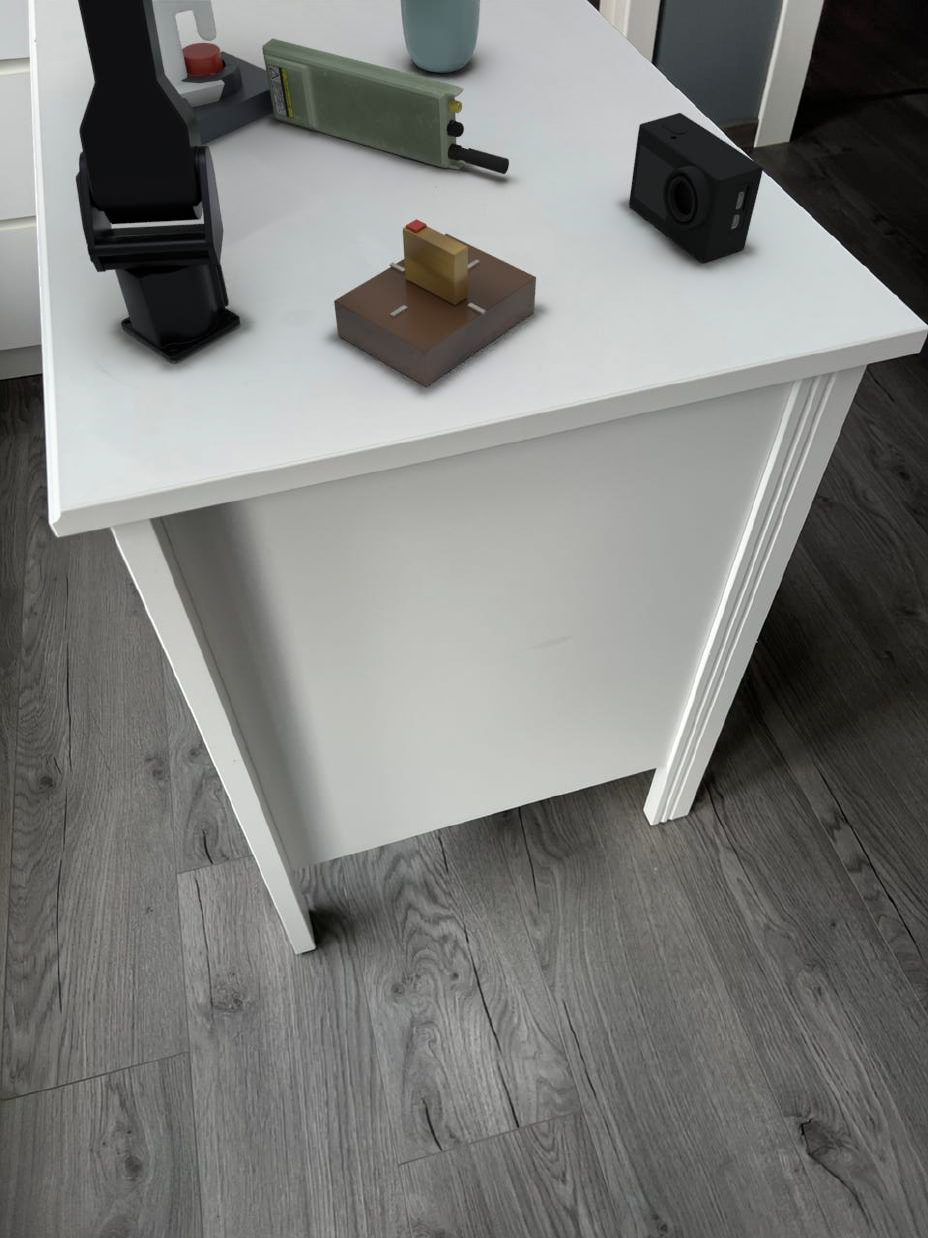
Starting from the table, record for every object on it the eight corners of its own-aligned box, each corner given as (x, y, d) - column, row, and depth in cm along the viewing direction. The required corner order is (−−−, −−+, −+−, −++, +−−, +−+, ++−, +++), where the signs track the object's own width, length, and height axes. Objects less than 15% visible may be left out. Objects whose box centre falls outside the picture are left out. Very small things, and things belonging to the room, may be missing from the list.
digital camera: (615, 208, 85) (625, 125, 79) (667, 192, 87) (680, 109, 81) (690, 268, 79) (706, 183, 74) (744, 249, 81) (763, 165, 75)
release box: (195, 148, 92) (185, 103, 89) (129, 114, 96) (118, 71, 93) (292, 103, 97) (286, 59, 94) (226, 73, 101) (219, 30, 98)
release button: (201, 82, 92) (197, 62, 91) (176, 70, 94) (172, 50, 92) (231, 69, 94) (227, 49, 93) (207, 58, 95) (203, 38, 94)
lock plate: (427, 387, 70) (425, 350, 68) (336, 335, 74) (332, 297, 71) (535, 312, 76) (537, 275, 73) (446, 267, 79) (445, 230, 77)
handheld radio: (290, 107, 97) (516, 171, 89) (269, 122, 95) (498, 189, 87) (278, 33, 91) (517, 95, 83) (256, 48, 90) (498, 112, 82)
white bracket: (243, 120, 95) (211, -63, 83) (146, 144, 92) (99, -42, 80) (216, 91, 99) (181, -88, 87) (122, 113, 96) (74, -69, 84)
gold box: (468, 297, 72) (468, 243, 68) (454, 305, 71) (454, 251, 68) (418, 270, 74) (416, 216, 70) (404, 278, 73) (402, 224, 70)
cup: (471, 84, 100) (471, -29, 92) (395, 77, 101) (389, -35, 93) (485, 51, 104) (487, -59, 97) (413, 45, 105) (409, -64, 98)
